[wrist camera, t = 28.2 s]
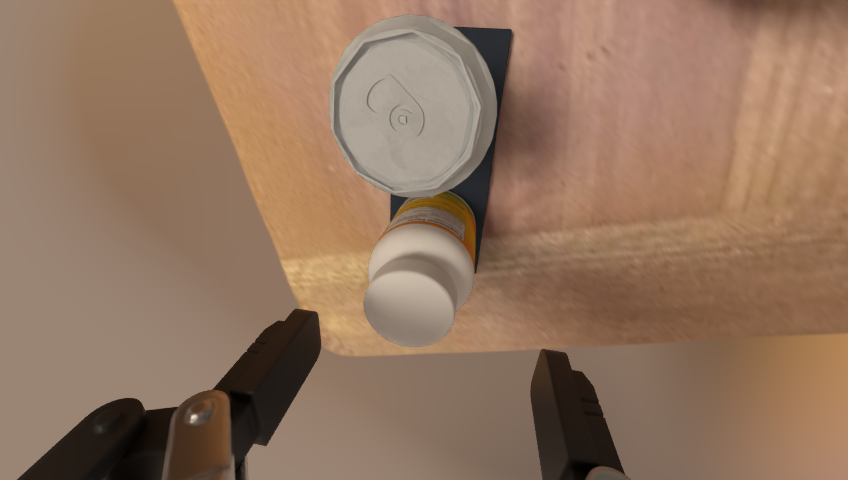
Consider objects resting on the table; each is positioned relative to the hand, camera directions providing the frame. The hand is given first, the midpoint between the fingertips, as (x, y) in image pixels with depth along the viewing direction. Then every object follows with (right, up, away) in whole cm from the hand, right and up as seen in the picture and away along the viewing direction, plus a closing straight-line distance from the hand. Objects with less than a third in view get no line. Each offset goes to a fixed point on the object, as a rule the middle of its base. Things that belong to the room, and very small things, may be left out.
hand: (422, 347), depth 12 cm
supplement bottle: (+1, +5, +11) cm, 12 cm away
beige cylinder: (+1, +12, +8) cm, 14 cm away
